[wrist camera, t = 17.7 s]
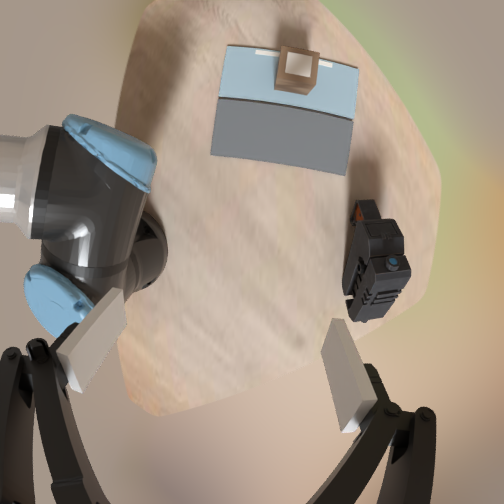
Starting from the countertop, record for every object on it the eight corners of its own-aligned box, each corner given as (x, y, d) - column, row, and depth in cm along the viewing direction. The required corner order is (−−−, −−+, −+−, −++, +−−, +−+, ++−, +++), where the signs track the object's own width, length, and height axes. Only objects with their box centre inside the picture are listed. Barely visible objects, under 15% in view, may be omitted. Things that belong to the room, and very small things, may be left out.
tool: (381, 190, 38) (421, 268, 28) (359, 265, 52) (378, 331, 43) (346, 191, 38) (378, 273, 28) (331, 267, 53) (346, 337, 43)
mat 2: (211, 155, 39) (210, 155, 39) (218, 99, 36) (218, 98, 36) (344, 175, 40) (345, 176, 39) (352, 122, 37) (353, 121, 36)
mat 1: (219, 96, 36) (218, 95, 35) (227, 47, 33) (227, 45, 32) (352, 119, 37) (354, 118, 36) (357, 70, 33) (359, 69, 33)
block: (274, 89, 35) (277, 77, 28) (278, 61, 33) (281, 45, 27) (306, 95, 35) (316, 84, 29) (310, 67, 33) (319, 52, 27)
